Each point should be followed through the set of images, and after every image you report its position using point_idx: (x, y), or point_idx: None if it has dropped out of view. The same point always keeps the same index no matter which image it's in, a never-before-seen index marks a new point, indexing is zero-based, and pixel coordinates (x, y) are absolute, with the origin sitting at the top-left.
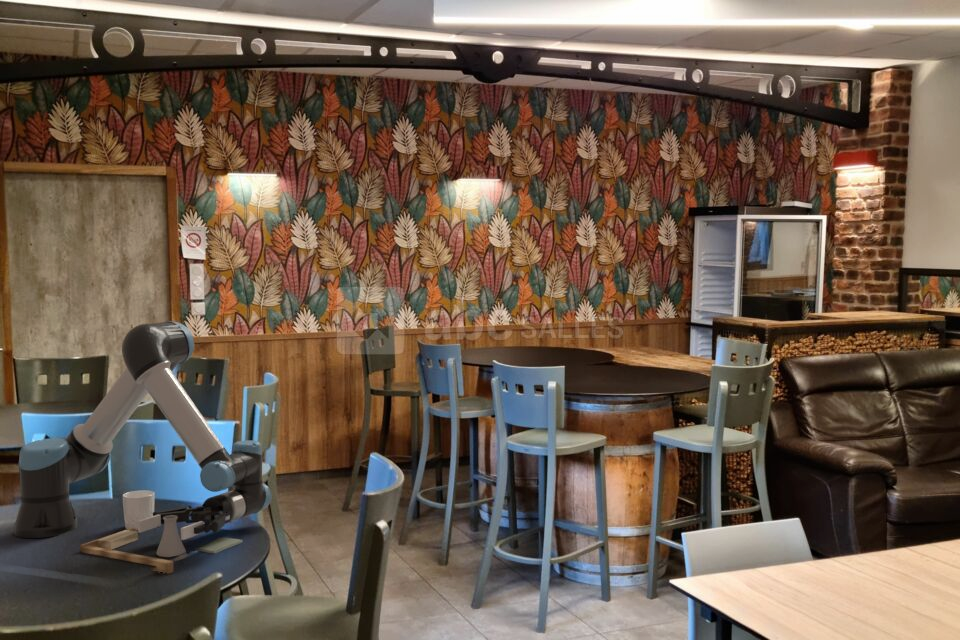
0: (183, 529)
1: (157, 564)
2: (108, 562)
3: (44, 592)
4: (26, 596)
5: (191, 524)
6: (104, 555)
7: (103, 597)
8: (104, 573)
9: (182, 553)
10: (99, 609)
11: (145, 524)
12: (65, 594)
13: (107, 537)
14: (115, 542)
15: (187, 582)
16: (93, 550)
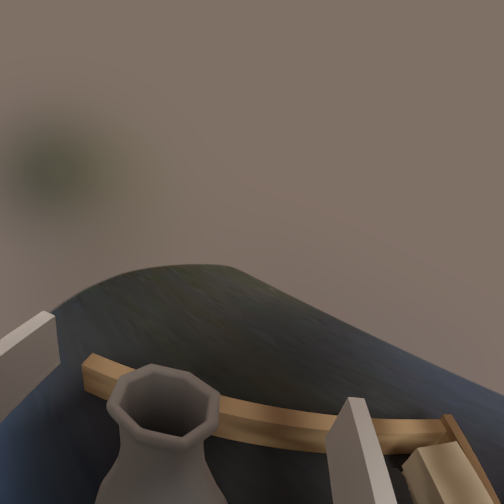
0: (43, 316)
1: None
2: None
3: (287, 316)
4: (295, 308)
5: (6, 349)
6: None
7: (175, 301)
8: (272, 383)
9: (98, 496)
10: (155, 277)
11: (342, 442)
12: (248, 311)
13: (464, 464)
14: (419, 468)
15: None
16: (406, 421)
